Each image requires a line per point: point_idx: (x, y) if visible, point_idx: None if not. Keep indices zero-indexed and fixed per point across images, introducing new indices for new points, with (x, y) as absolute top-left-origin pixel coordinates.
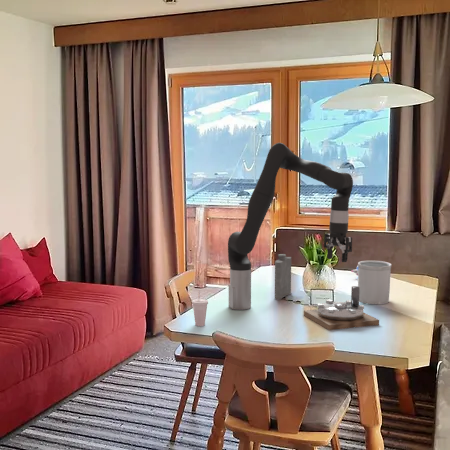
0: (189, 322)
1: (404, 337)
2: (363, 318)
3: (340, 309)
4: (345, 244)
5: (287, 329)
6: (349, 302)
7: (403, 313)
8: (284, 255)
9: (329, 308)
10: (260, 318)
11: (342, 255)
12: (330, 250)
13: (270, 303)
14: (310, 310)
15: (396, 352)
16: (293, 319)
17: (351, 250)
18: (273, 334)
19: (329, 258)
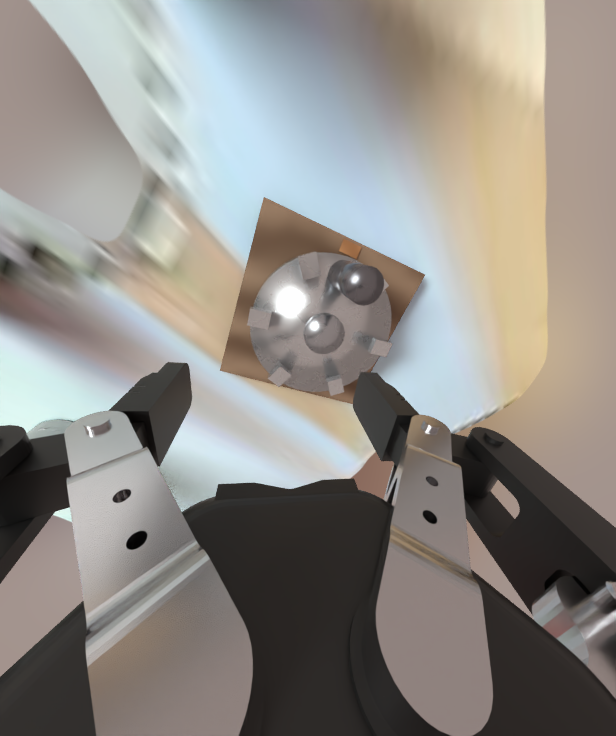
0: None
1: (498, 311)
2: None
3: (337, 349)
4: (444, 504)
5: (290, 449)
6: (317, 276)
7: (432, 20)
8: None
9: (308, 366)
10: (193, 450)
11: (378, 442)
12: (155, 441)
13: (42, 356)
14: (230, 356)
15: (500, 392)
16: (240, 405)
17: (506, 447)
18: (297, 477)
19: (190, 394)
